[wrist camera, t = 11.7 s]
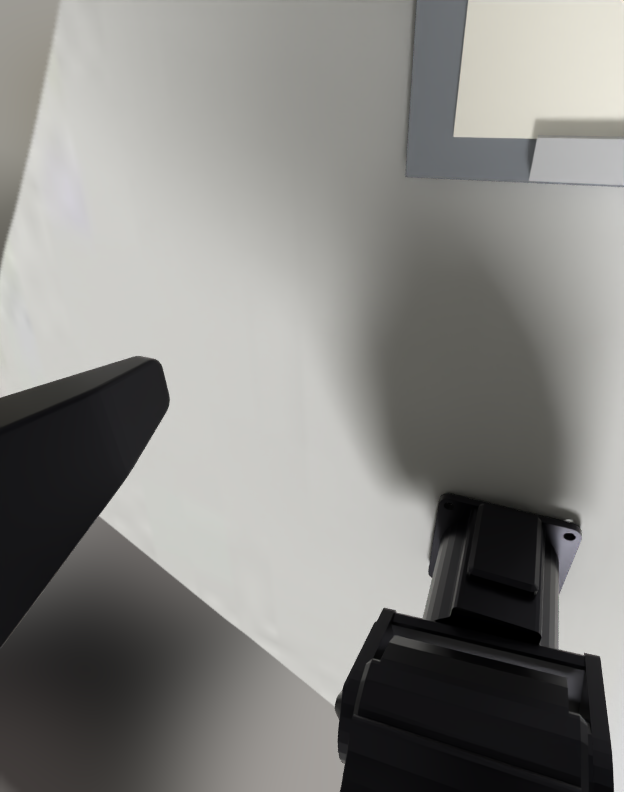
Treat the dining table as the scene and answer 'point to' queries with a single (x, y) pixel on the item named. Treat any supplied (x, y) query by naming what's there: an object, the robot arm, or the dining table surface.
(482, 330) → the dining table surface
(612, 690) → the dining table surface
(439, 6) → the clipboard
